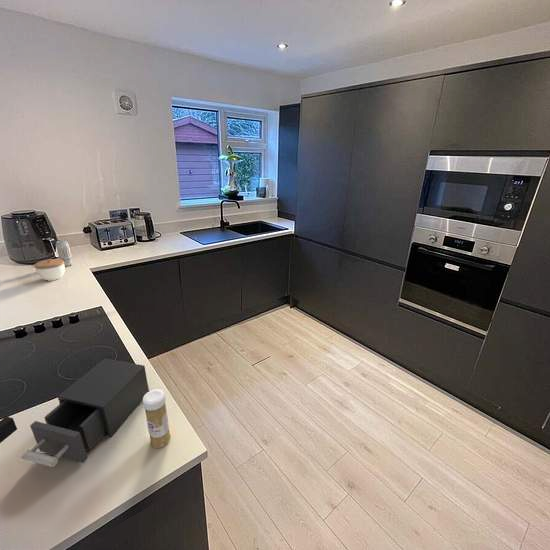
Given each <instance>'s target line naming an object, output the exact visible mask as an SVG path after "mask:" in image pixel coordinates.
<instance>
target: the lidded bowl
mask: <svg viewBox="0 0 550 550" xmlns="http://www.w3.org/2000/svg"><path fill="white" fill-rule="evenodd" d="M33 266H34V268H35V271H36V273H37V275H38V276H39V277H40V278H41V279H43V280H44V281H46V280H48V281H47V282H52V281H51V280H54V281H57V280H56V279H58V280H60V279H62V278H63V276H64V275H65V272H66V267H65V265H64V261H63V260H61V259H60V258H47V259H45V260H40V261H38V262H36V263H34V264H33ZM61 277H62V278H61ZM59 278H60V279H59Z"/></svg>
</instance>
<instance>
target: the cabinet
mask: <svg viewBox="0 0 550 550" xmlns="http://www.w3.org/2000/svg"><path fill="white" fill-rule="evenodd" d="M149 391H150V389H149V383H148V379H147V372H146V366H145V365H143V364H138V363H133V362H129V361H128V362H127V361H123V360H117V359H111V358H106V357H104V358H103V359H102V360H101V361H99V362H98V363H97V364H95V365H94V366H93V367H92V368H90V369H89V370H88V371H87V372H86V373H85V374H83V375H82V376H81V377H80V378H78V379H77V380H76V381H75V382H74V383H72V384H70V386H69V387H67V388H66V389H65V390H63V391H62V392H61V393H60V394H58V396H57V399H58V402H59V404H61V403H62V402H63V401H64V400H65V401H69V402H73V403H78V404H82V405H86V406H91V407H95V408H99V409H101V410H102V414H103V418H104V421H105V425H106V429H107V432H106V433H105V434H104V435H103V436H104V437H108V438H112V437H114V435H115V434H116V433H117V432H118V431H119V429H120V428H121V427H122V425H124V423H126V421H127V420H128V419H129V417H130V416H131V415H132V414H133V413H134V412H135V410H136V409H137V408H138V407H139V406H140V405H141V403H143V397H144V395H145V394H146V393H148V392H149ZM103 436H102V437H103Z"/></svg>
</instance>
